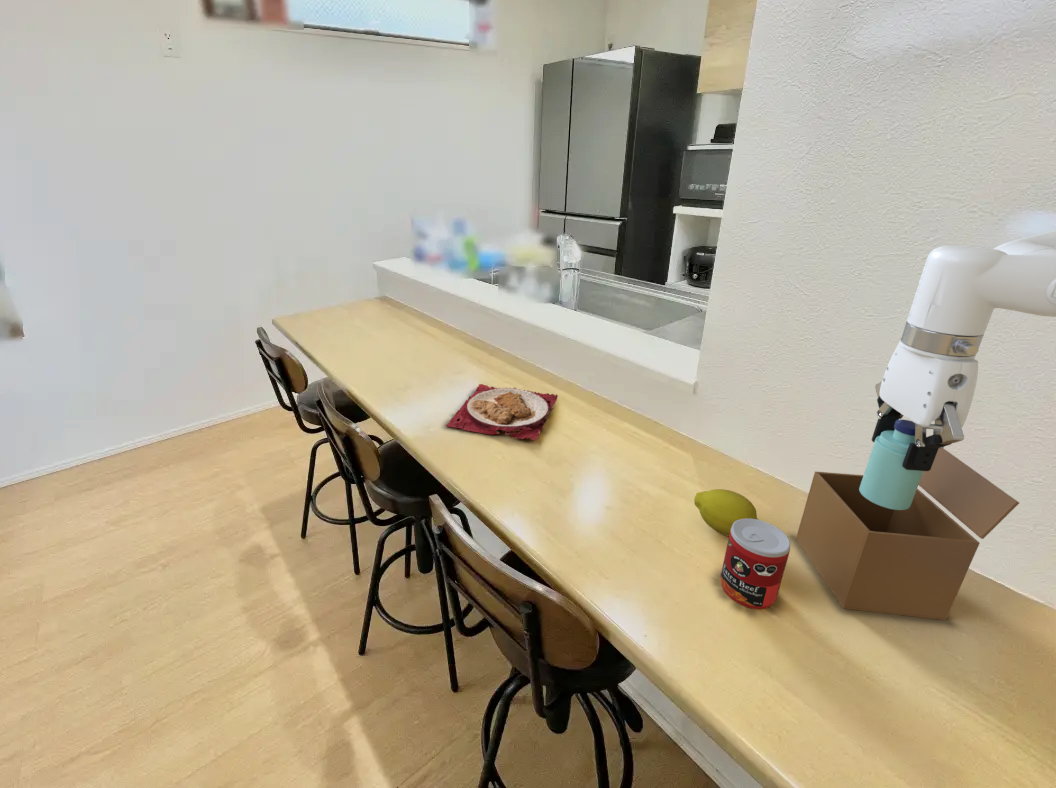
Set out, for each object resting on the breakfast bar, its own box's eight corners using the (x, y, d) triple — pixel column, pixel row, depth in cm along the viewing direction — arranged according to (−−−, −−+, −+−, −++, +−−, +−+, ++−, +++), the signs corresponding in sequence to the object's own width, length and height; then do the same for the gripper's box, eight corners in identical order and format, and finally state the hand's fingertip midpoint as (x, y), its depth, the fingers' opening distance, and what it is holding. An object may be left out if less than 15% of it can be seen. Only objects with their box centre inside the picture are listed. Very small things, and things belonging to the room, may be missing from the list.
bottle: (892, 486, 77) (917, 415, 72) (920, 512, 71) (949, 437, 67) (850, 483, 78) (872, 412, 73) (874, 508, 72) (900, 433, 68)
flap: (906, 474, 81) (908, 475, 81) (980, 538, 68) (983, 539, 68) (934, 442, 79) (936, 443, 79) (1017, 501, 65) (1020, 502, 65)
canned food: (708, 583, 80) (720, 528, 76) (739, 564, 83) (752, 511, 79) (754, 619, 73) (770, 561, 70) (786, 598, 77) (802, 541, 73)
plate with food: (558, 400, 141) (558, 389, 140) (536, 444, 118) (536, 431, 117) (479, 388, 149) (479, 378, 148) (445, 426, 127) (445, 414, 126)
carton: (881, 547, 87) (905, 478, 82) (945, 620, 73) (980, 542, 68) (795, 538, 89) (814, 471, 84) (842, 608, 75) (868, 532, 70)
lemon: (762, 535, 90) (771, 498, 87) (746, 556, 85) (755, 519, 82) (702, 506, 97) (709, 471, 95) (684, 524, 92) (690, 488, 90)
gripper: (1032, 367, 57) (977, 495, 63) (923, 321, 73) (888, 427, 79) (958, 363, 58) (911, 490, 64) (867, 319, 74) (837, 424, 80)
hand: (899, 454), depth 72 cm, fingers closed on bottle, 6 cm apart
